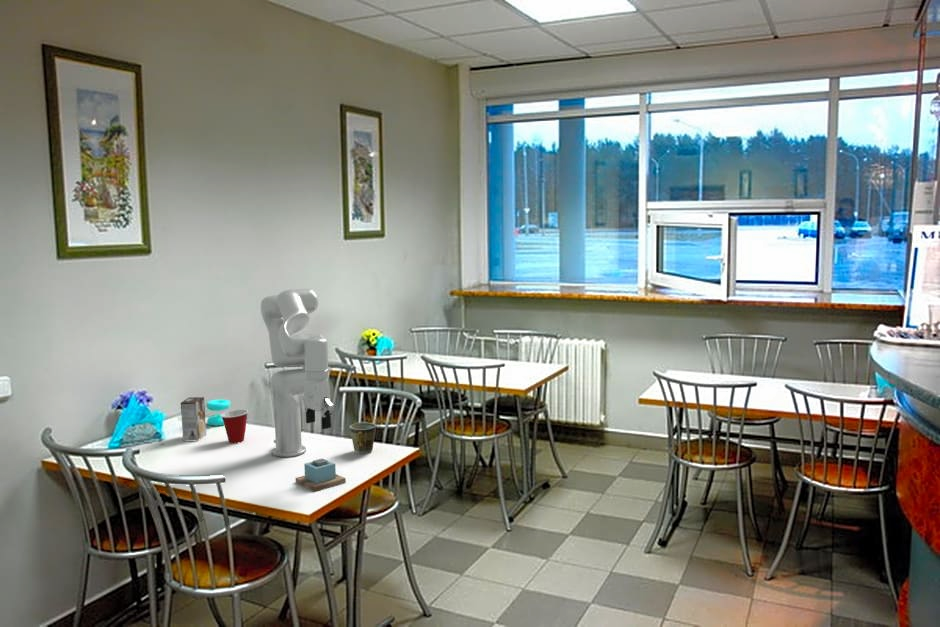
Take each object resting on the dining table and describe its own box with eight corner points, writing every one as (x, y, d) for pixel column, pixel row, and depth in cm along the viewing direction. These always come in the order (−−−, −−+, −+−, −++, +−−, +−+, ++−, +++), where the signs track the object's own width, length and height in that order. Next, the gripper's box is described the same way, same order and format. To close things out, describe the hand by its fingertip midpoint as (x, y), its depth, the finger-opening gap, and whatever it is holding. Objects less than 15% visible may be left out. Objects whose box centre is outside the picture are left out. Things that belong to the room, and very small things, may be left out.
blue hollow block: (304, 478, 252) (304, 463, 251) (323, 472, 257) (323, 458, 256) (316, 483, 247) (316, 468, 246) (335, 478, 252) (335, 463, 251)
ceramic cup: (353, 447, 291) (352, 422, 289) (378, 447, 290) (378, 422, 289) (346, 458, 278) (345, 431, 276) (373, 458, 277) (372, 431, 276)
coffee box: (191, 435, 309) (189, 396, 307) (206, 434, 309) (204, 396, 307) (182, 441, 300) (180, 402, 298) (198, 441, 300) (196, 402, 298)
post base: (295, 482, 252) (294, 460, 251) (326, 473, 260) (325, 453, 259) (314, 491, 244) (313, 469, 243) (345, 482, 252) (345, 460, 251)
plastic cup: (227, 437, 306) (225, 408, 304) (253, 437, 305) (252, 408, 304) (217, 445, 295) (215, 415, 293) (244, 445, 294) (243, 415, 293)
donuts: (201, 403, 321) (212, 398, 331) (203, 426, 322) (213, 420, 332) (223, 404, 320) (234, 398, 329) (225, 427, 321) (235, 420, 331)
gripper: (293, 372, 251) (295, 422, 253) (321, 380, 239) (322, 433, 241) (312, 369, 256) (314, 418, 259) (341, 377, 244) (342, 428, 246)
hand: (318, 425), depth 250 cm, fingers open, 9 cm apart
